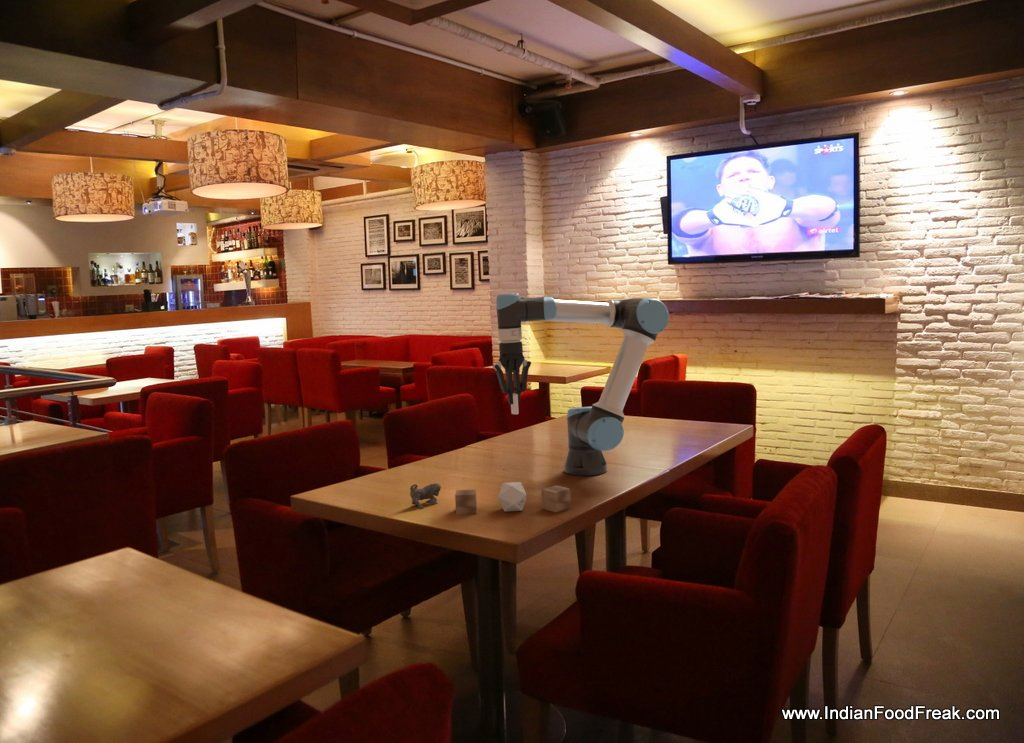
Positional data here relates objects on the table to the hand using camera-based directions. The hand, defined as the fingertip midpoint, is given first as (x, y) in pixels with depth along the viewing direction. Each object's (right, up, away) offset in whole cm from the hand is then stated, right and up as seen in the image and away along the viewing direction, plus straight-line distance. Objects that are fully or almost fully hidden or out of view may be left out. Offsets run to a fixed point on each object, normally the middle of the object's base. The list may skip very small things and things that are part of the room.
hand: (515, 413), depth 255 cm
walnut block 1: (-15, -28, -20) cm, 38 cm away
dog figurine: (-27, -28, -10) cm, 40 cm away
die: (-1, -28, -20) cm, 34 cm away
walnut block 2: (+12, -27, -21) cm, 36 cm away
